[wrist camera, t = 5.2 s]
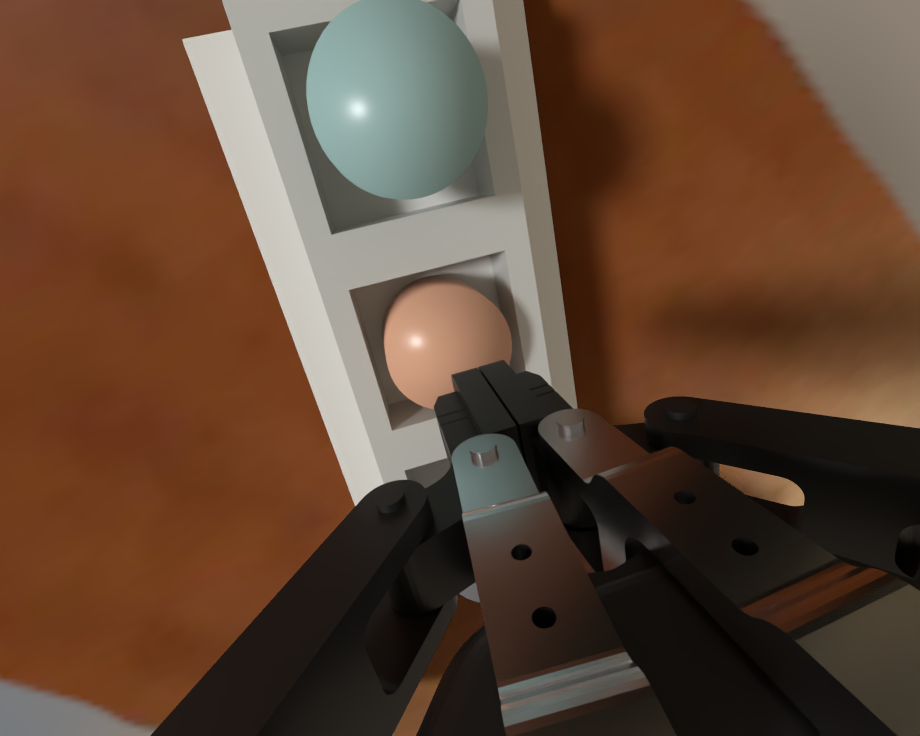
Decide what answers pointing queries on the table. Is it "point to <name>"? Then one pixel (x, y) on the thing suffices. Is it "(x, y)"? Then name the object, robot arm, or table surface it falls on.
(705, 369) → the table surface
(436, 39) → the teal button
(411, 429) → the button board
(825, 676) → the robot arm
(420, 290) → the terracotta button
